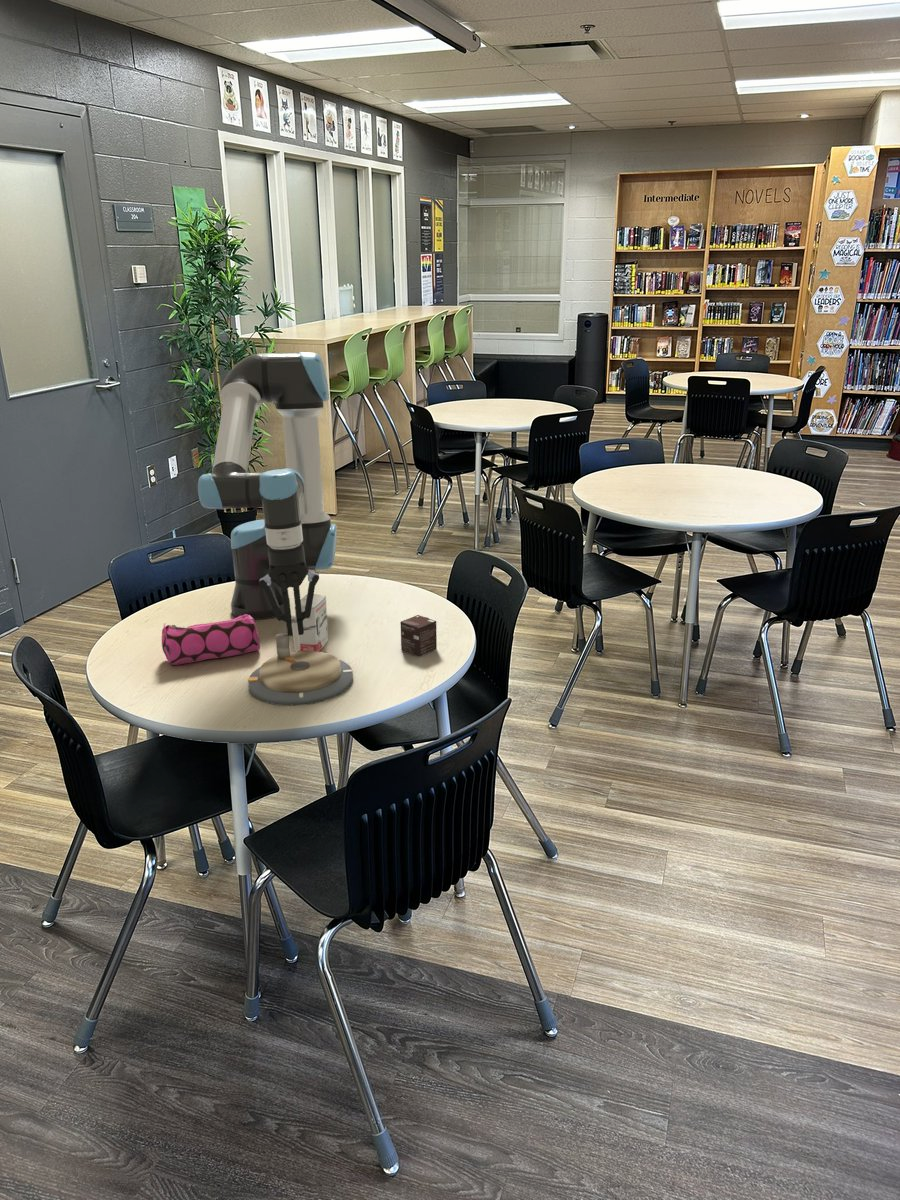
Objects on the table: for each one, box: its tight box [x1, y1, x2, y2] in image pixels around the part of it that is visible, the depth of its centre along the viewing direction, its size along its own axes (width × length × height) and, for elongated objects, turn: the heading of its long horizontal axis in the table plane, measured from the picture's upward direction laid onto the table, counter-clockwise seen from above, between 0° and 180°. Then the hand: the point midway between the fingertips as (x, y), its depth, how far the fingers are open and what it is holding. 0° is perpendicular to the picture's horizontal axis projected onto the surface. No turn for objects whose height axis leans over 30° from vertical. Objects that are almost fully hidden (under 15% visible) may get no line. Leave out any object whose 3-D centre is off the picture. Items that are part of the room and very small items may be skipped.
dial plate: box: [247, 658, 354, 706], centre depth 190 cm, size 22×22×2 cm
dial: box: [259, 632, 341, 693], centre depth 188 cm, size 17×17×7 cm
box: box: [399, 614, 438, 658], centre depth 204 cm, size 6×6×7 cm
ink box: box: [294, 593, 329, 652], centre depth 206 cm, size 9×5×12 cm, turn 168°
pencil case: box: [161, 614, 261, 666], centre depth 203 cm, size 21×10×10 cm, turn 115°
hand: (297, 648), depth 194 cm, fingers closed
